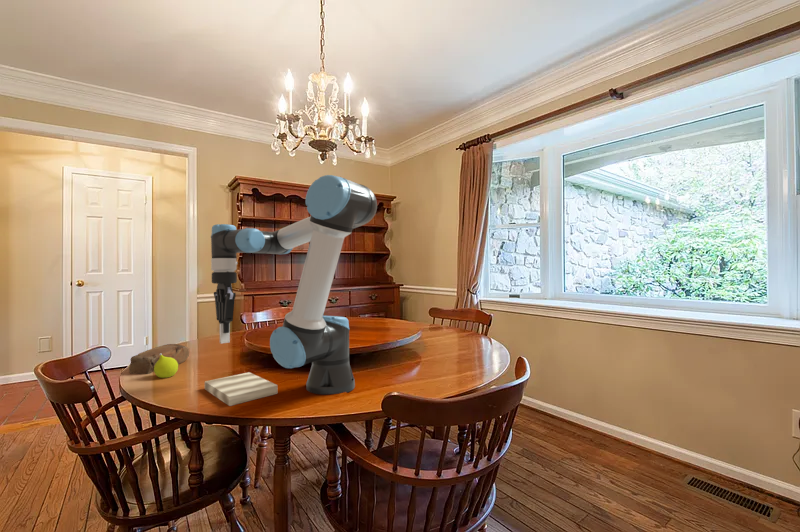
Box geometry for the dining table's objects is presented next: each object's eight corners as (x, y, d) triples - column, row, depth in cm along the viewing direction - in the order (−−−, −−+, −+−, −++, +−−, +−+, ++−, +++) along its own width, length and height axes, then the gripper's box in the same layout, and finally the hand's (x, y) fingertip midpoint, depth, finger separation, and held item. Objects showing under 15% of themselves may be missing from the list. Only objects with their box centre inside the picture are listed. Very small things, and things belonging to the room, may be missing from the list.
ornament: (149, 381, 123) (149, 351, 123) (161, 375, 130) (161, 347, 130) (171, 380, 123) (171, 351, 123) (182, 374, 130) (182, 346, 130)
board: (277, 393, 110) (277, 385, 110) (229, 406, 100) (229, 396, 100) (249, 379, 124) (249, 372, 124) (204, 389, 114) (204, 381, 114)
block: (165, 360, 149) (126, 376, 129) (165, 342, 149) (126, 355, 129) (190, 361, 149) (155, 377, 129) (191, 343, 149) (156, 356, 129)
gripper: (243, 271, 120) (244, 343, 119) (228, 271, 129) (228, 338, 128) (219, 271, 114) (220, 347, 114) (205, 271, 123) (205, 341, 123)
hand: (224, 342), depth 121 cm, fingers closed
